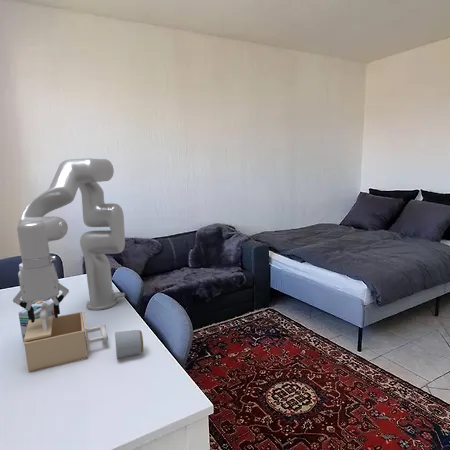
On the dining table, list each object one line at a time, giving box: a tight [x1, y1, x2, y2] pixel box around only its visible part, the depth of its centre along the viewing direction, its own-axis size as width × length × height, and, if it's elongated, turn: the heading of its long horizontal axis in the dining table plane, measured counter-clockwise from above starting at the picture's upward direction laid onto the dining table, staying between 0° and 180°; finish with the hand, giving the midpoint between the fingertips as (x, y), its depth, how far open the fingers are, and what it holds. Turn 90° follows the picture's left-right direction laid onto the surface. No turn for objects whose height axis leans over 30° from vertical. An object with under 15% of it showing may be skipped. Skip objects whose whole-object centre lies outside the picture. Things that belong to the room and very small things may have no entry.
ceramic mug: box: [114, 329, 144, 359], centre depth 113 cm, size 11×8×8 cm
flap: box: [24, 303, 53, 341], centre depth 110 cm, size 7×14×6 cm, turn 23°
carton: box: [23, 311, 109, 373], centre depth 115 cm, size 23×16×9 cm
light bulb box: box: [18, 300, 55, 343], centre depth 126 cm, size 11×7×11 cm, turn 168°
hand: (45, 318), depth 111 cm, fingers open, 5 cm apart
